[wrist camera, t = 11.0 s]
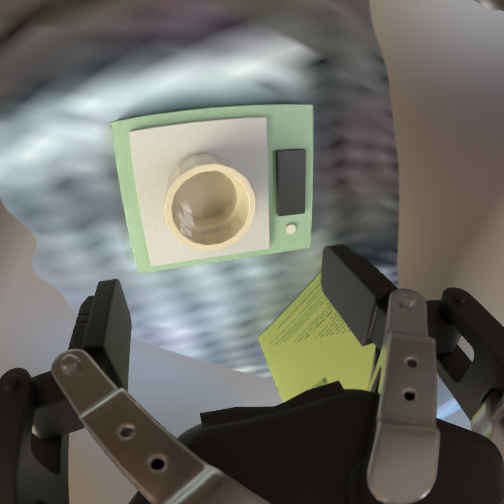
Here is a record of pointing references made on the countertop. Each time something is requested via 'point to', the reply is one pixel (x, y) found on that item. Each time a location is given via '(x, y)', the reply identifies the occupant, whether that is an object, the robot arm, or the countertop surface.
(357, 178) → the countertop surface
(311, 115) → the scale
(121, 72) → the countertop surface
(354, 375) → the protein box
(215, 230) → the beige cup
